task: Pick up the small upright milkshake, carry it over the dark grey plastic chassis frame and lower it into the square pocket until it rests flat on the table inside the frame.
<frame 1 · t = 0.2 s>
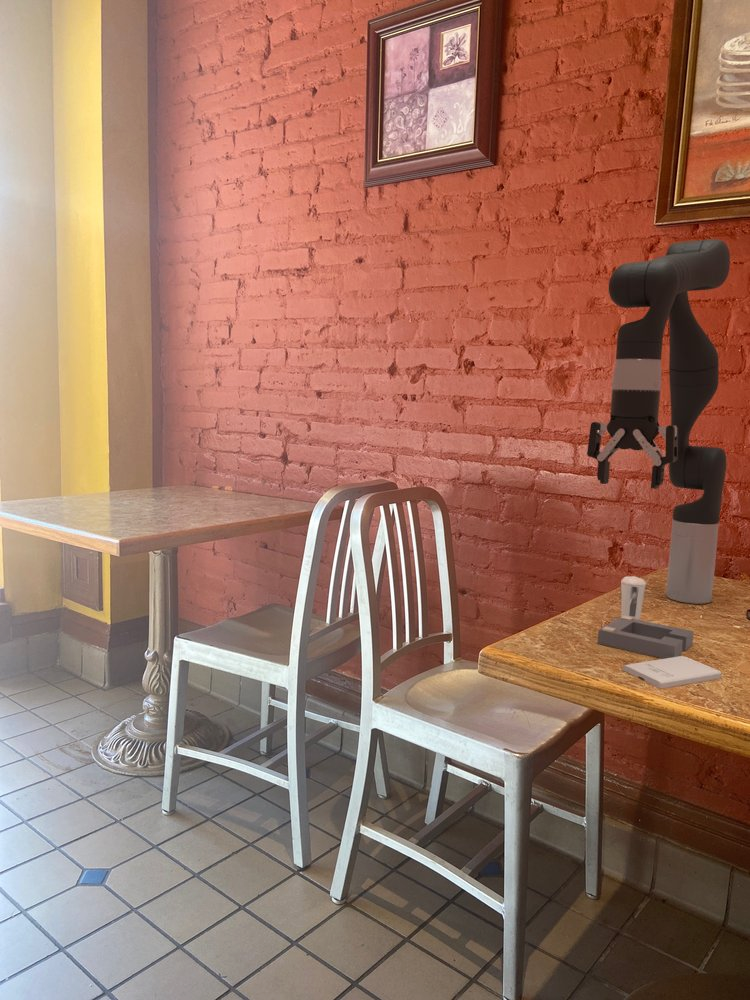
hand: (628, 485, 125), 28 cm above the table, tool pointing down, fingers open, 8 cm apart
chassis: (645, 644, 132), on the table
external hard drive: (670, 678, 118), on the table
milkshake: (632, 624, 144), on the table
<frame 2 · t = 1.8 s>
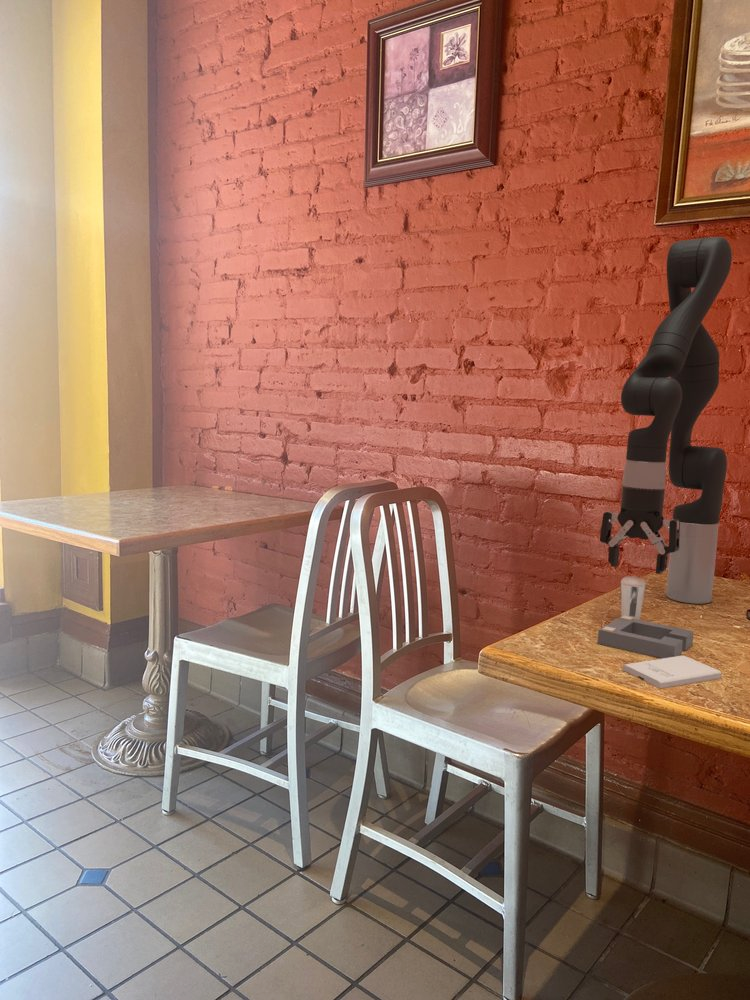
hand: (636, 569, 143), 11 cm above the table, tool pointing down, fingers open, 8 cm apart
nothing on the table moved.
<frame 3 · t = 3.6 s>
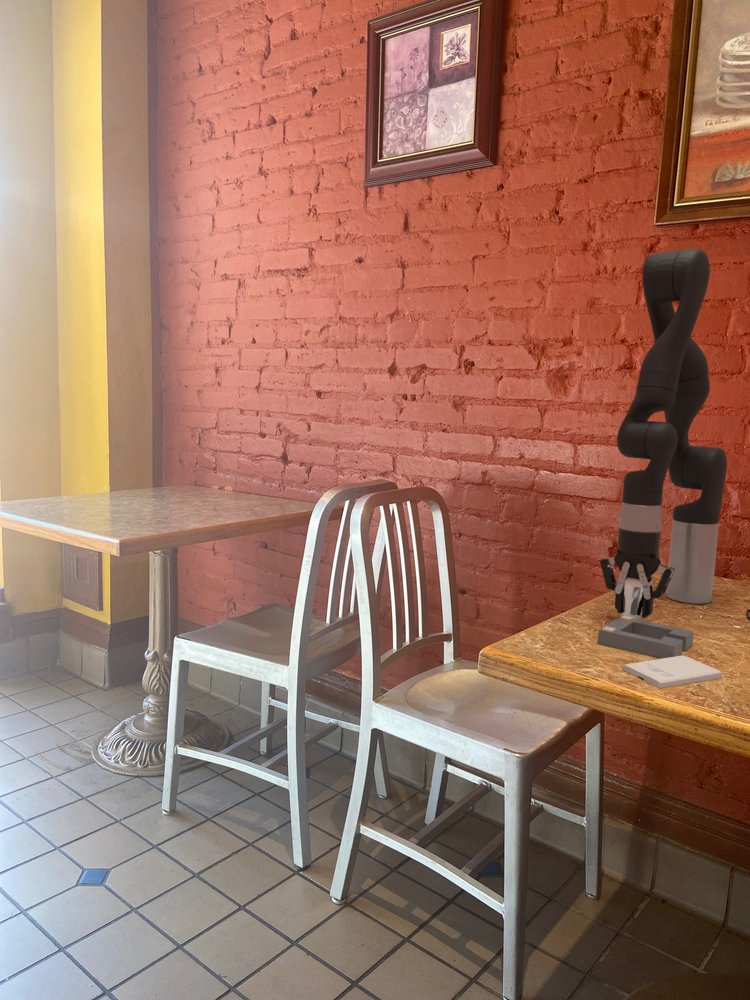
hand: (632, 614, 144), 2 cm above the table, tool pointing down, fingers closed on milkshake, 4 cm apart
milkshake: (632, 623, 144), on the table, touching gripper
everything else where it was.
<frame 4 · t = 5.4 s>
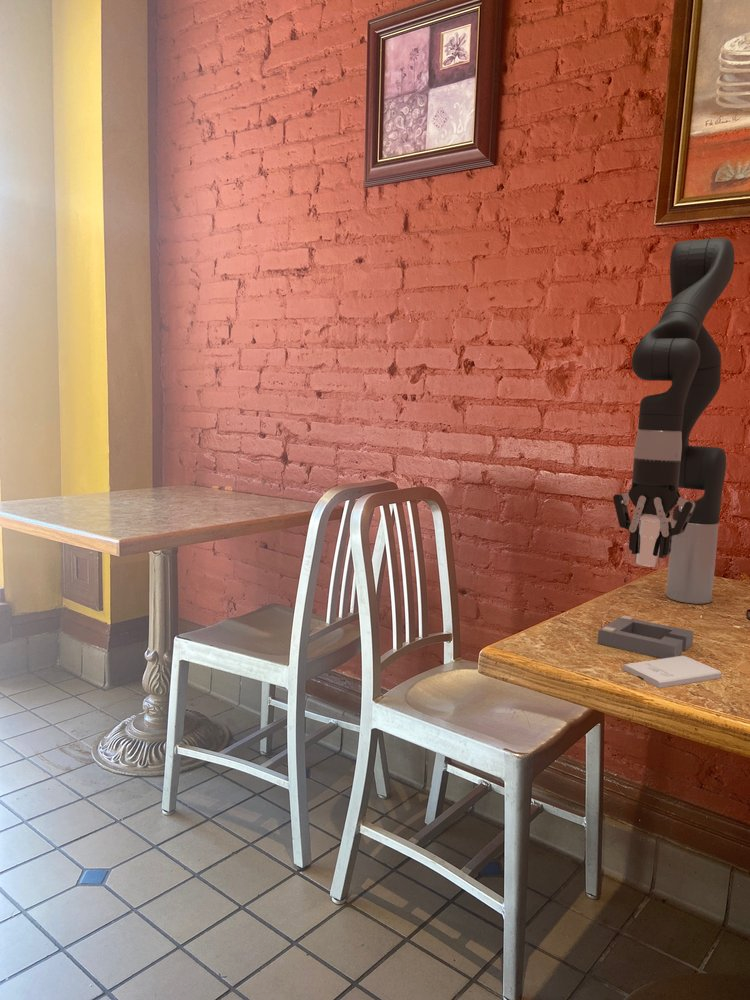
hand: (648, 555, 130), 16 cm above the table, tool pointing down, fingers closed on milkshake, 4 cm apart
milkshake: (648, 565, 130), point 14 cm above the table, touching gripper
everything else where it was.
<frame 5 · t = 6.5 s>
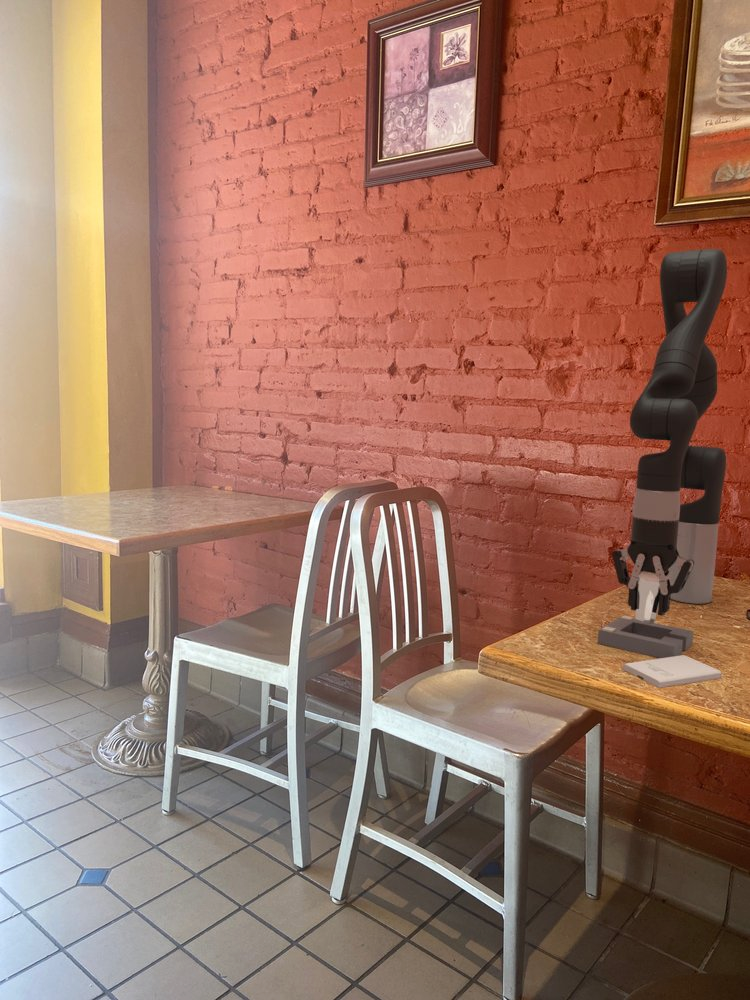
hand: (647, 611, 131), 6 cm above the table, tool pointing down, fingers closed on milkshake, 4 cm apart
milkshake: (647, 622, 131), point 4 cm above the table, touching gripper
everything else where it was.
when the fingers open (3 cm above the table, at t = 7.3 s): milkshake drops 2 cm, on the table.
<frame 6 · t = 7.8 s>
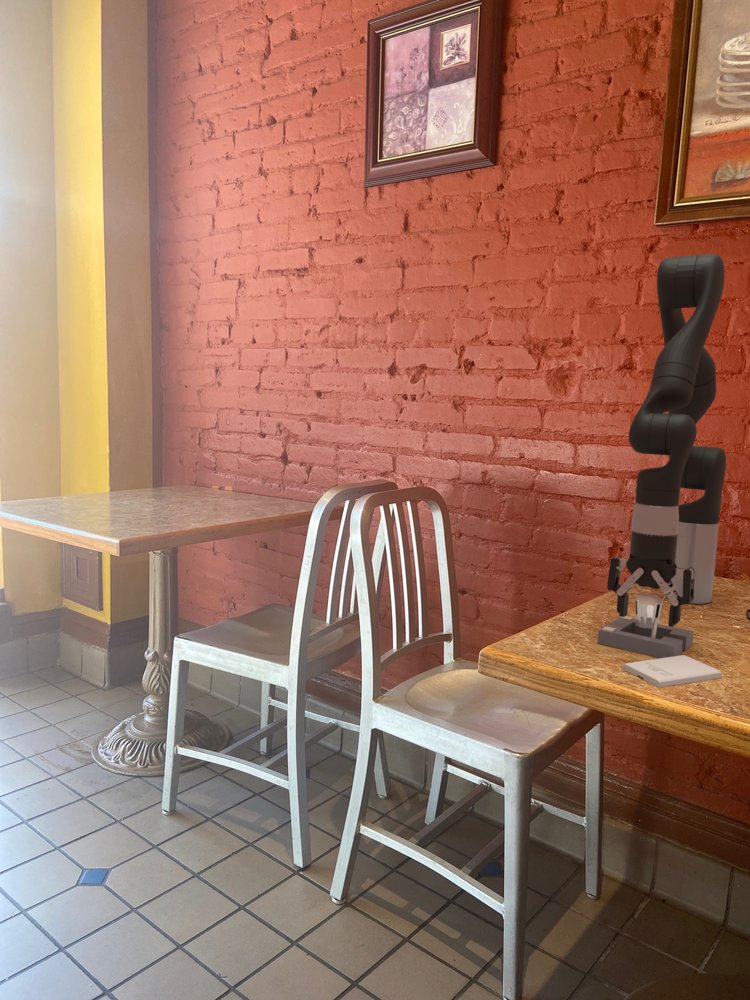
hand: (647, 620, 131), 4 cm above the table, tool pointing down, fingers open, 8 cm apart
milkshake: (647, 645, 132), on the table
everything else where it was.
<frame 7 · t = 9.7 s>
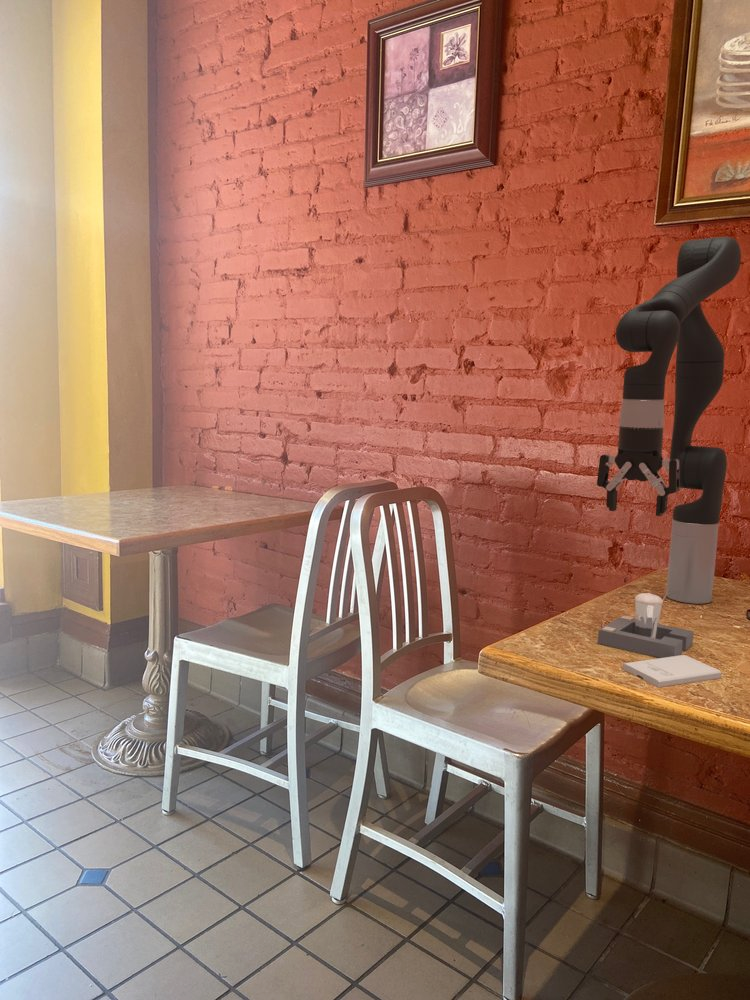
hand: (635, 513, 138), 22 cm above the table, tool pointing down, fingers open, 8 cm apart
nothing on the table moved.
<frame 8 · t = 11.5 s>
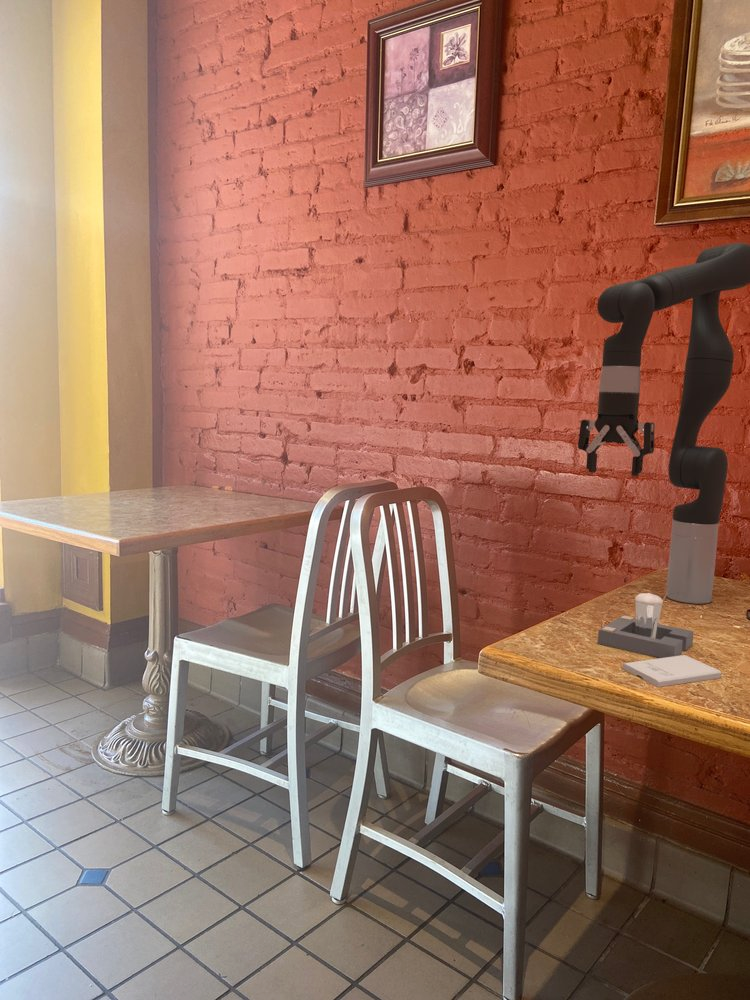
hand: (613, 474, 147), 28 cm above the table, tool pointing down, fingers open, 8 cm apart
nothing on the table moved.
at the end: milkshake 0.4 cm from the chassis (horizontally); milkshake touching table; the gripper is holding nothing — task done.
